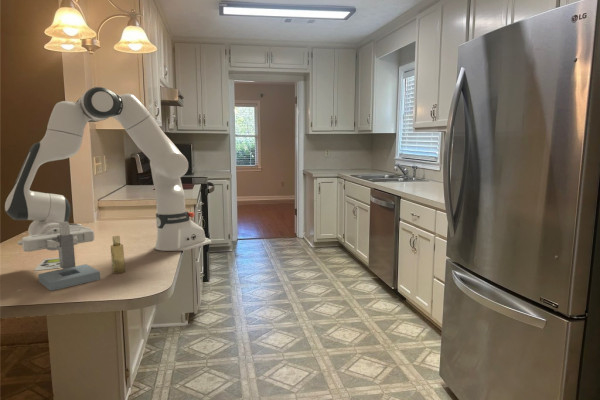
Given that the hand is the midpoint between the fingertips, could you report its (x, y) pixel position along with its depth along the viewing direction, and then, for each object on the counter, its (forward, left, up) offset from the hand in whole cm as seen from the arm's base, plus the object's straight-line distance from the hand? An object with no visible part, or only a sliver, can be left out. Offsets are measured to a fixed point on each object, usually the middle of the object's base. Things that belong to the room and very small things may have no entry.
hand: (66, 243), depth 129 cm
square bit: (0, -1, -7) cm, 8 cm away
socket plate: (0, -1, -12) cm, 12 cm away
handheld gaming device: (-2, -26, -13) cm, 29 cm away
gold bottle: (-14, +2, -12) cm, 19 cm away
